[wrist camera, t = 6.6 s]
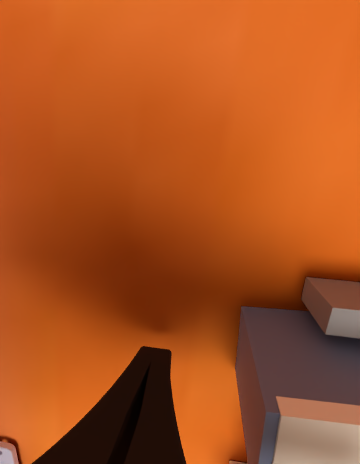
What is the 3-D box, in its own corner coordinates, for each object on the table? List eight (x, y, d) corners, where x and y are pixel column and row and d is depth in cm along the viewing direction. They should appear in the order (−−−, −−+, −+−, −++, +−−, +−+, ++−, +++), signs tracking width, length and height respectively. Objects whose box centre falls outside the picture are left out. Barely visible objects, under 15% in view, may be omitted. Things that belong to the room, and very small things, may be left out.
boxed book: (235, 368, 13) (253, 505, 8) (241, 304, 12) (267, 414, 7) (389, 383, 12) (527, 550, 7) (411, 316, 11) (596, 454, 6)
